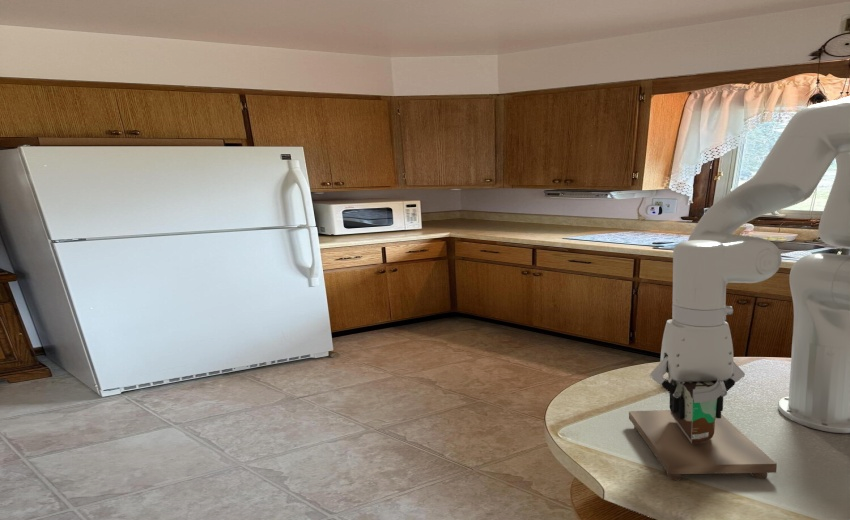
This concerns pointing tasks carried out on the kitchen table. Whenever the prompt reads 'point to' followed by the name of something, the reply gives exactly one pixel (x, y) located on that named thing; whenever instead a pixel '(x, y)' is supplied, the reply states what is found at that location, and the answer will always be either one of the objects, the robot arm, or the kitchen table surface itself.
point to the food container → (699, 409)
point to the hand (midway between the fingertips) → (695, 413)
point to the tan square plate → (700, 447)
